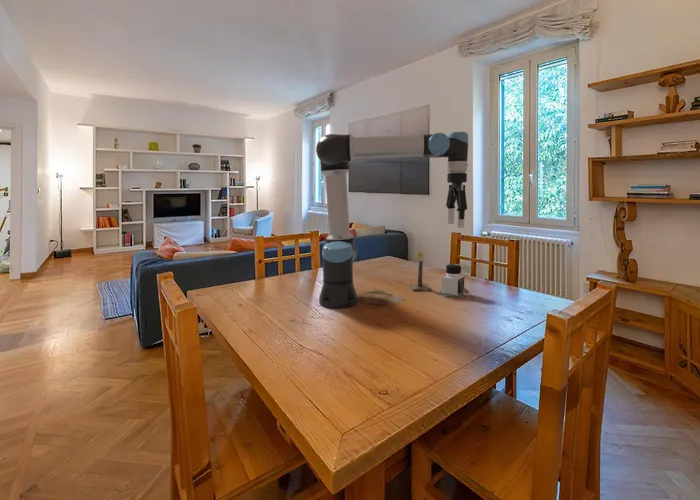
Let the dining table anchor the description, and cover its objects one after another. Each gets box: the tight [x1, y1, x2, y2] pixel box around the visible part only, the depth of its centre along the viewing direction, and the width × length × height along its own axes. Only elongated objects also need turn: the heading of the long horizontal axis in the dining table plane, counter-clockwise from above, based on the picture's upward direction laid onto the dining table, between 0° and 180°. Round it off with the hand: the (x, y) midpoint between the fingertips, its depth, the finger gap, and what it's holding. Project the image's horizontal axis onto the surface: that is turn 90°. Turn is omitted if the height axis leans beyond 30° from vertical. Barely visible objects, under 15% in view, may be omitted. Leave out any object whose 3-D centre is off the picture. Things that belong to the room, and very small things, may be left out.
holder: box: [409, 261, 469, 293], centre depth 168 cm, size 23×14×12 cm, turn 91°
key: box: [416, 250, 427, 262], centre depth 170 cm, size 15×3×4 cm, turn 162°
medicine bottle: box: [441, 263, 465, 296], centre depth 159 cm, size 7×7×12 cm
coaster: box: [439, 289, 468, 298], centre depth 160 cm, size 9×9×1 cm
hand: (455, 225), depth 155 cm, fingers open, 13 cm apart
